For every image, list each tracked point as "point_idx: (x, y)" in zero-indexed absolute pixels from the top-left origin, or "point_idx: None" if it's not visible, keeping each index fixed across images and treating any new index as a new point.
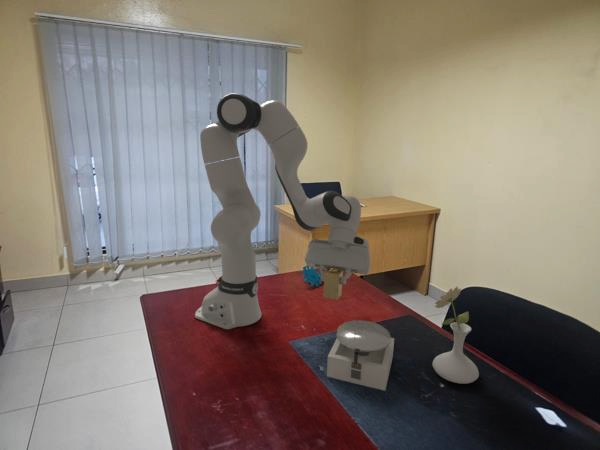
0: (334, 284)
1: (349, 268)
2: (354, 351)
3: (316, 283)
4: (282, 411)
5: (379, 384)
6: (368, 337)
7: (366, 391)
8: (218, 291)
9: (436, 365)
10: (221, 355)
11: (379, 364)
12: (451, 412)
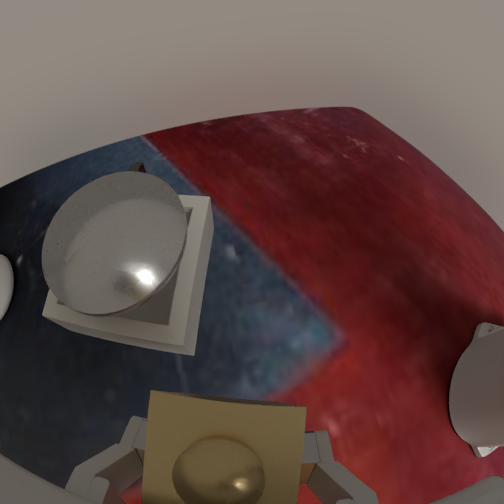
0: (207, 397)
1: (70, 493)
2: (153, 321)
3: None
4: (270, 146)
5: None
6: (96, 217)
7: None
8: None
9: (6, 279)
10: (435, 240)
11: None
12: (33, 206)
